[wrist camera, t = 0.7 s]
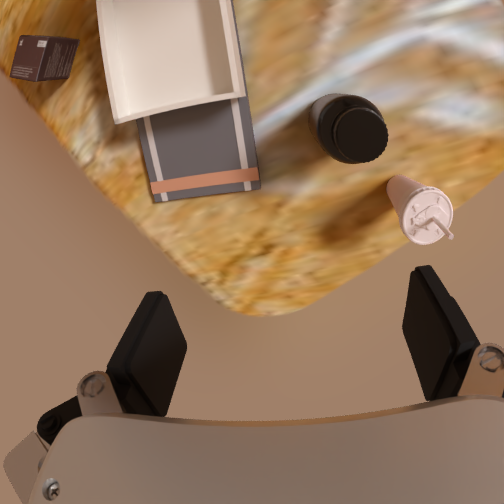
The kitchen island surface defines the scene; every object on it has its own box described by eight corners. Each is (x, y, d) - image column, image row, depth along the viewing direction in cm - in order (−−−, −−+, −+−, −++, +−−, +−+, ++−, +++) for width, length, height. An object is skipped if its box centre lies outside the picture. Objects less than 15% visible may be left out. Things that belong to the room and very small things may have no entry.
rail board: (118, -23, 24) (114, -25, 23) (223, -54, 22) (221, -57, 21) (158, 199, 40) (155, 202, 39) (260, 186, 38) (260, 189, 37)
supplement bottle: (322, 156, 36) (339, 187, 25) (297, 106, 33) (305, 114, 23) (372, 135, 34) (409, 158, 23) (349, 85, 31) (380, 84, 20)
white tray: (114, -17, 24) (94, -26, 19) (222, -49, 22) (213, -67, 17) (134, 118, 34) (114, 124, 29) (246, 96, 32) (241, 97, 27)
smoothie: (421, 206, 37) (470, 260, 25) (379, 214, 39) (416, 273, 26) (418, 161, 34) (474, 201, 22) (373, 168, 36) (416, 211, 23)
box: (41, 73, 31) (8, 77, 25) (52, 36, 28) (19, 34, 22) (69, 79, 32) (35, 83, 26) (81, 39, 29) (48, 36, 23)
